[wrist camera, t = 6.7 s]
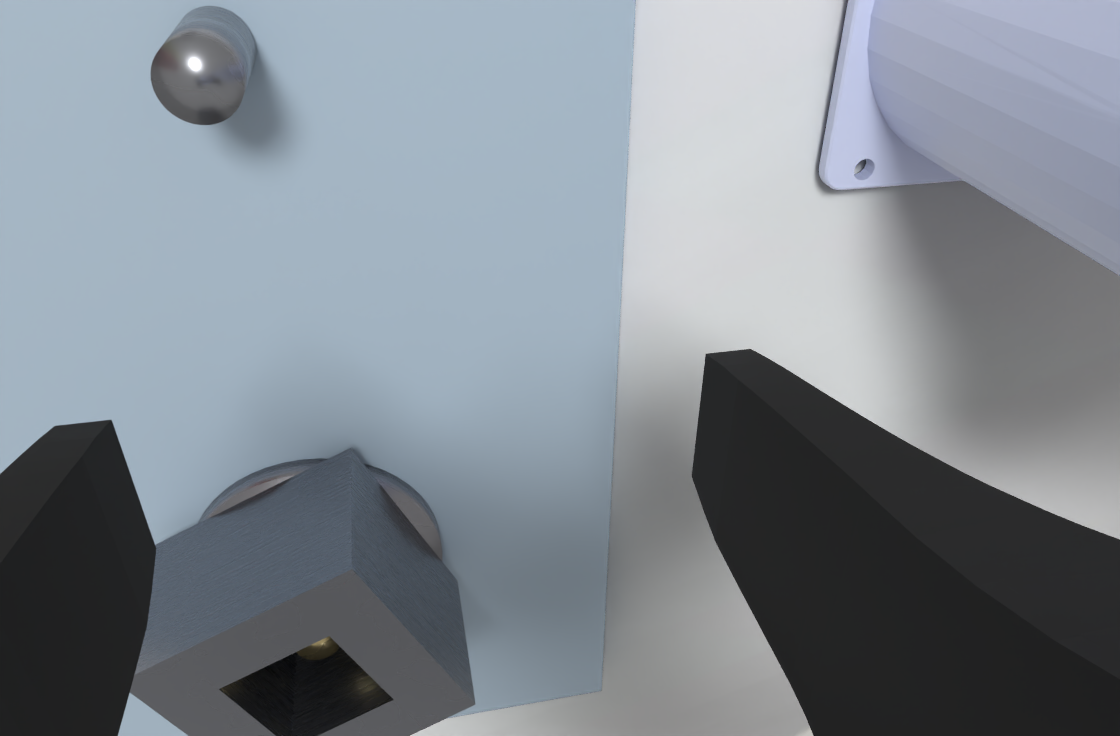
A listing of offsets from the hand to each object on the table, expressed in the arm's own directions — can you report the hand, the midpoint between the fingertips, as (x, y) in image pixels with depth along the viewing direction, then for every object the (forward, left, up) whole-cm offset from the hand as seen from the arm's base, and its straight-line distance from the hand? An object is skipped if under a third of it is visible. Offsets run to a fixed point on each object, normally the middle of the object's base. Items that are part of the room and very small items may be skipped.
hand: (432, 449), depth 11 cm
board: (+3, +5, -10) cm, 11 cm away
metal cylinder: (+3, -3, -9) cm, 10 cm away
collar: (+3, +10, -8) cm, 13 cm away
